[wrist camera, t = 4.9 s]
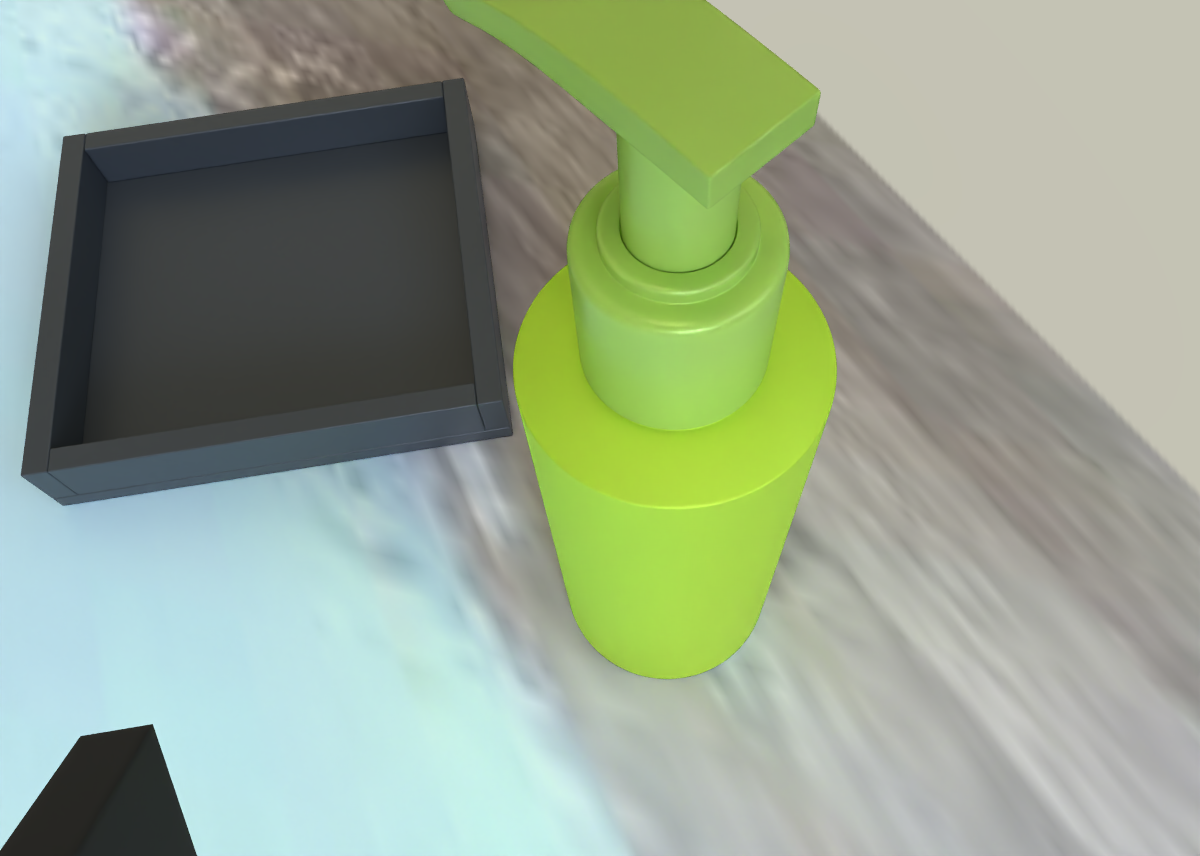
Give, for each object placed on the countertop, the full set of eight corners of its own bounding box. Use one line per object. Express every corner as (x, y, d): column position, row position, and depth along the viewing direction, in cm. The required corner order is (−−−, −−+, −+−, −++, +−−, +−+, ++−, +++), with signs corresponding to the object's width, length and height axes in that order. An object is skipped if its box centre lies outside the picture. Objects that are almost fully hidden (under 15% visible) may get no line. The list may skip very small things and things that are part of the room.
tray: (474, 124, 38) (463, 77, 36) (513, 435, 32) (502, 400, 30) (96, 180, 38) (62, 136, 36) (62, 506, 32) (20, 476, 30)
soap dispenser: (644, 434, 32) (633, -191, 14) (805, 584, 29) (1041, 57, 11) (505, 553, 30) (292, 21, 12) (663, 723, 28) (682, 362, 10)
